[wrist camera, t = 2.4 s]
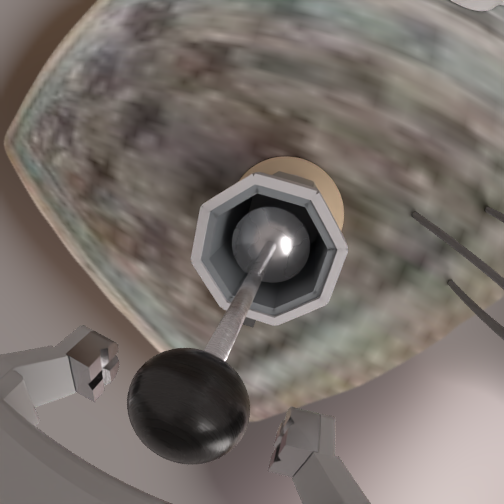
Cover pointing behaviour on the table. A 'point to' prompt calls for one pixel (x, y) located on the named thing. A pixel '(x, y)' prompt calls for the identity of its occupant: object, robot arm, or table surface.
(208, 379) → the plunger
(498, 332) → the citrus juicer
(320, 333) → the table surface
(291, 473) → the robot arm
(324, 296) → the grey octagonal cup
